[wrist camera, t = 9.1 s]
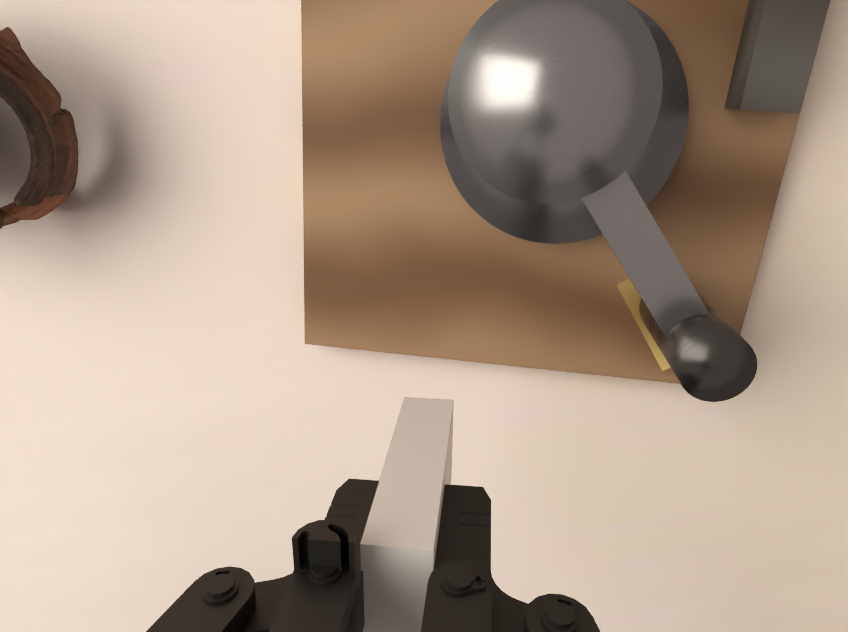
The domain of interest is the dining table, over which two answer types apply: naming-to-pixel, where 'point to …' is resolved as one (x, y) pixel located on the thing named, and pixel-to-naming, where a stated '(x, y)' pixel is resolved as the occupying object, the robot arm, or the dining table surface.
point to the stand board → (503, 253)
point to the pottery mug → (37, 134)
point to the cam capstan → (587, 157)
